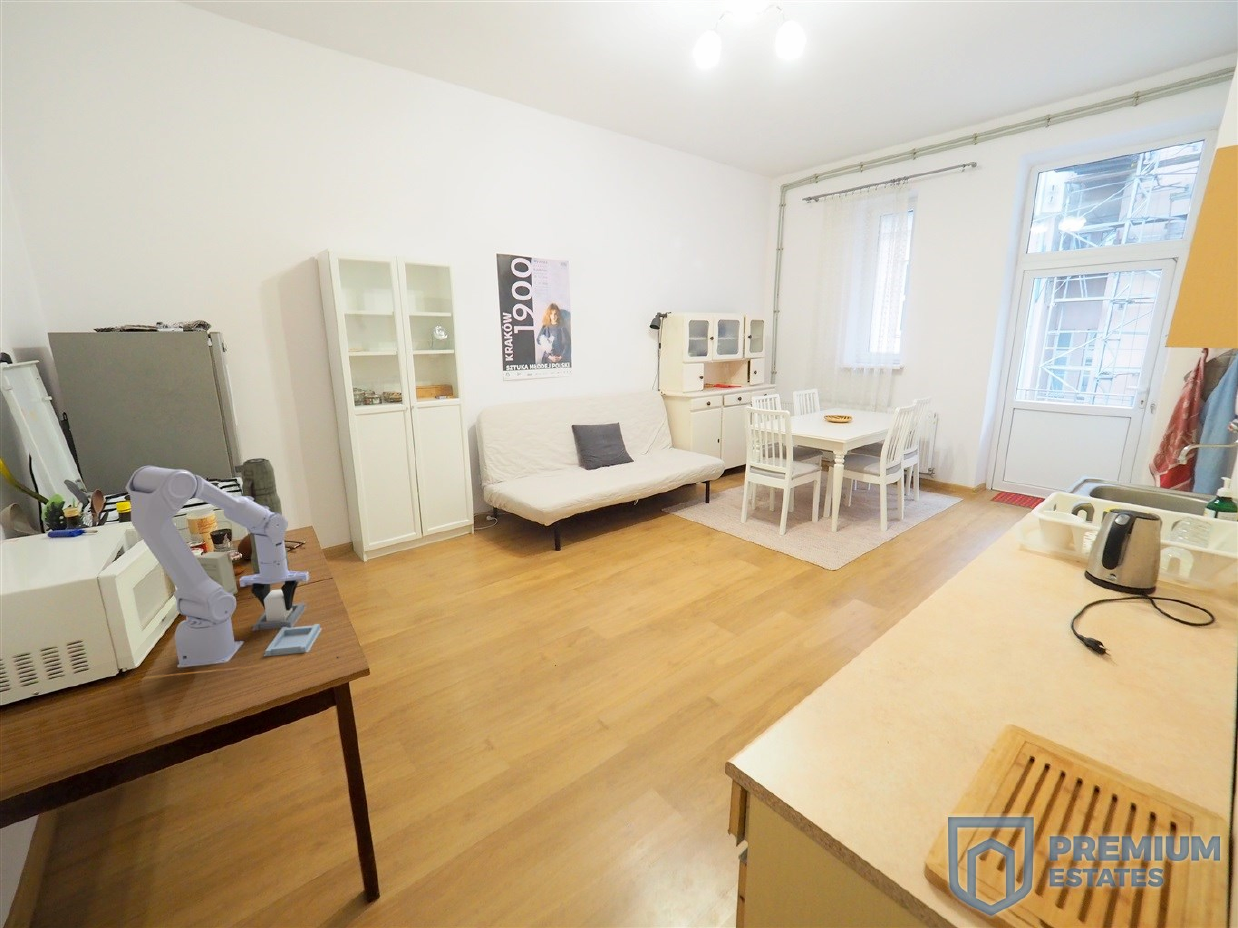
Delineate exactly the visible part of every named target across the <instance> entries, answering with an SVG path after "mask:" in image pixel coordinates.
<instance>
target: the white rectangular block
mask: <svg viewBox="0 0 1238 928" xmlns="http://www.w3.org/2000/svg"><path fill="white" fill-rule="evenodd" d="M264 605H265V609H264V612H266V619H267V621H277V620H286V618H287V617H288V616H289V614H290V613H291V612H292V610H293V609H292V608H291V609H290V610H286V607H285V599H284V595H283V592H282V590H281V588H280V589H271V590H270V593H269V594H268V595H267V596H266V598H265V599H264Z"/></svg>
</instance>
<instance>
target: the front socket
mask: <svg viewBox="0 0 1238 928" xmlns="http://www.w3.org/2000/svg"><path fill="white" fill-rule="evenodd" d="M322 630H323V628H322V627H321V625H320V623H314V624H313V625H303V626H293V627H282V628H280V630H279V632H278V633H277V634H276V635H275V637H274V638H273V640H272V641H271V642H270V644H269V645H268V646H267V648H266V650H265V651H264V655H263V657H270V656H279V655H280V656H283V655H291V654H298V653H299V654H301V653H309V652H310V650H311V648H312V646H313V645H314V644H315V642H316V640H317V638H318V636H319V634H321V631H322Z"/></svg>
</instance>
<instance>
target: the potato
mask: <svg viewBox="0 0 1238 928" xmlns="http://www.w3.org/2000/svg"><path fill="white" fill-rule="evenodd" d="M238 552H239V553H241V554H242V558H241V559H243V560H251V555H252V546H251V539H250V533H249V534H247V535H245V536H244V537H243V538H242V539H241V540H240V541H239V543H238V545H237V552H236V553H238Z"/></svg>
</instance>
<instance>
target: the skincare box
mask: <svg viewBox="0 0 1238 928" xmlns="http://www.w3.org/2000/svg"><path fill="white" fill-rule="evenodd" d="M231 555H232V554H231V552H229V551H208V552H206V553H203V554H201V555H199V556H197V557H196V558H197V560H198V561H199V563H200V564H201V566H202V567H203V569H204V570H205V572H206V573H207V575H208V577H209V578H210V579H212V580H213V581H215V582H216V583H218V584H219V585H221V586H222V587H223V589H224V590H225V591H226V592H228V593H231V594H232V595H235V594H237V593H238V588H237V581H236V577H235V572H234V566H233V562H232V556H231Z"/></svg>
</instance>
